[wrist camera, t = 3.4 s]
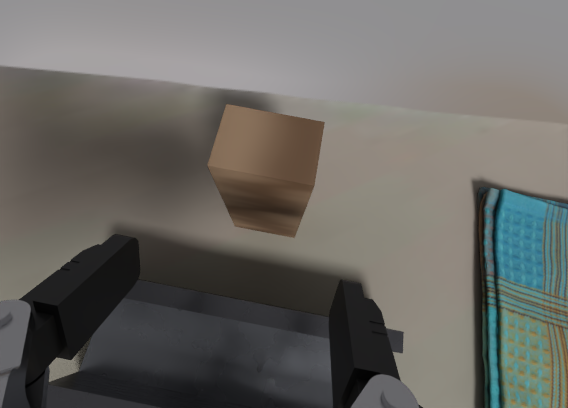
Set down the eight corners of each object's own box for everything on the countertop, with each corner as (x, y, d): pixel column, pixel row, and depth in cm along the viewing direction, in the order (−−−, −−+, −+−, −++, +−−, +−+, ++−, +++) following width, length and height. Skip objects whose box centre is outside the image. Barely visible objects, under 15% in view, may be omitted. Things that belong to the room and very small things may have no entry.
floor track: (80, 388, 19) (34, 408, 15) (122, 276, 22) (90, 270, 18) (372, 447, 19) (397, 483, 15) (379, 326, 21) (403, 332, 18)
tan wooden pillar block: (235, 226, 23) (207, 165, 13) (244, 188, 25) (226, 103, 14) (294, 237, 23) (314, 185, 13) (301, 198, 24) (324, 122, 14)
